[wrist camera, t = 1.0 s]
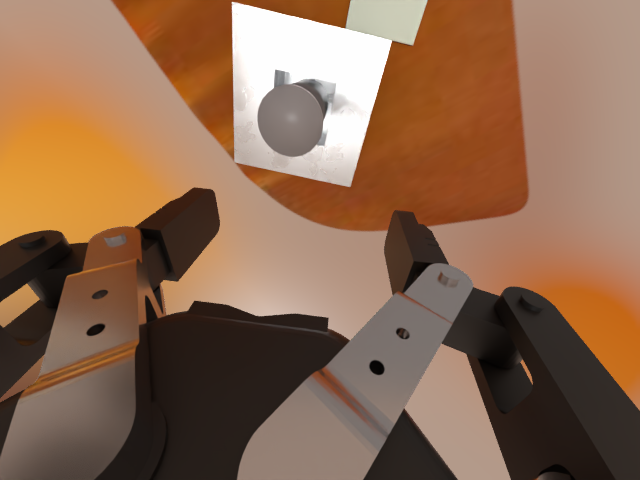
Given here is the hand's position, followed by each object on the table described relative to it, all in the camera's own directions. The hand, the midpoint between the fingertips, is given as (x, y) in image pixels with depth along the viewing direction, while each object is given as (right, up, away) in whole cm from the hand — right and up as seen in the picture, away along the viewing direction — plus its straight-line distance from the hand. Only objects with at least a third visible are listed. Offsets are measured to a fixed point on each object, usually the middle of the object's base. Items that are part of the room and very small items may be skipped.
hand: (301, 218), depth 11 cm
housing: (0, +15, +18) cm, 24 cm away
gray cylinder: (0, +14, +16) cm, 22 cm away
